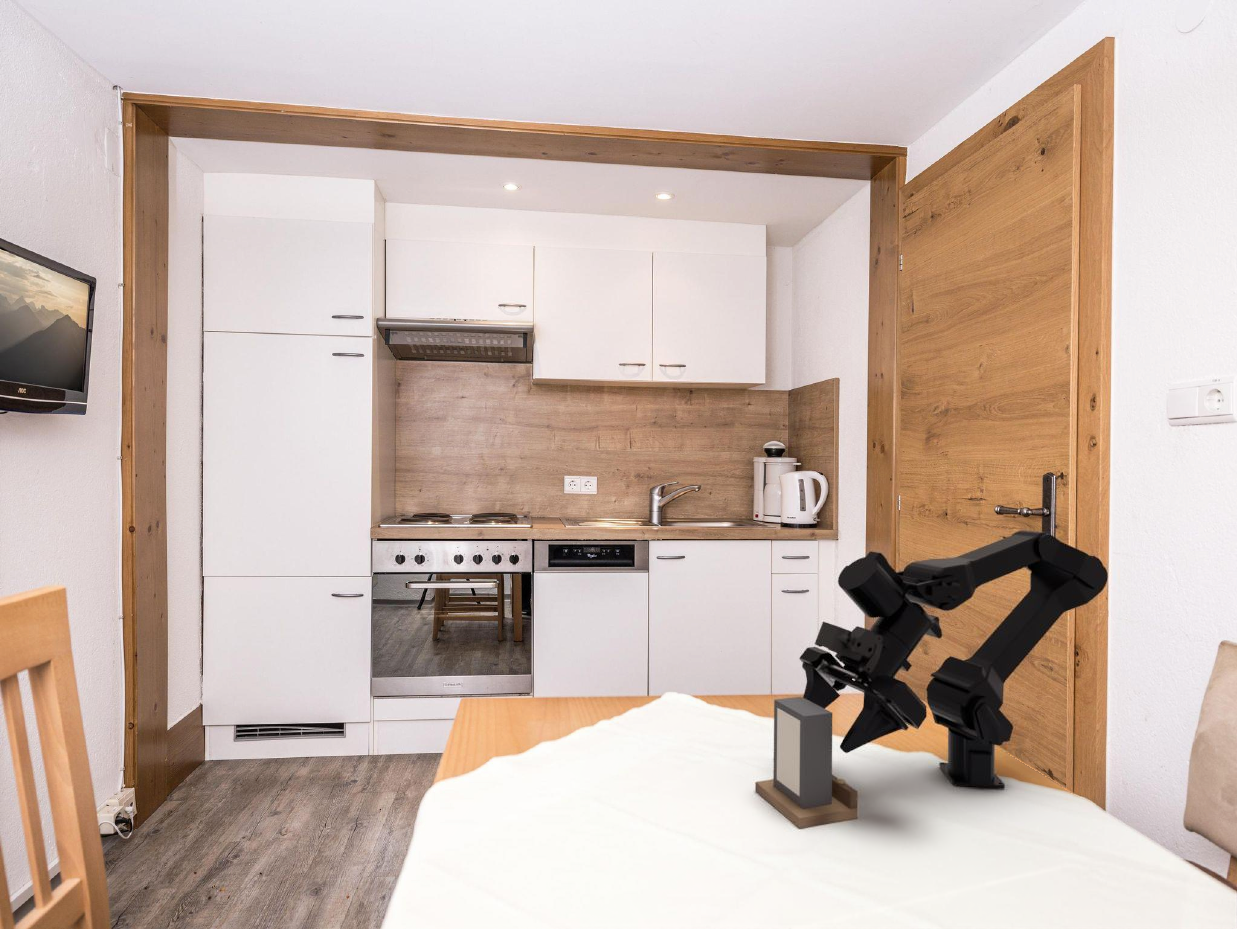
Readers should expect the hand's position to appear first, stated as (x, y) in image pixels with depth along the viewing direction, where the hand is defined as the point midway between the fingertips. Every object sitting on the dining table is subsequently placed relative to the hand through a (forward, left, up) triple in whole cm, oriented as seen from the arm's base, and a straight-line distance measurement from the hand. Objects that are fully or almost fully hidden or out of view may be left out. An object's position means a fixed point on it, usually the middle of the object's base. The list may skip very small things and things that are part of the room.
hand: (819, 736), depth 88 cm
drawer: (+1, -2, -8) cm, 8 cm away
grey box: (+1, -2, -7) cm, 7 cm away
